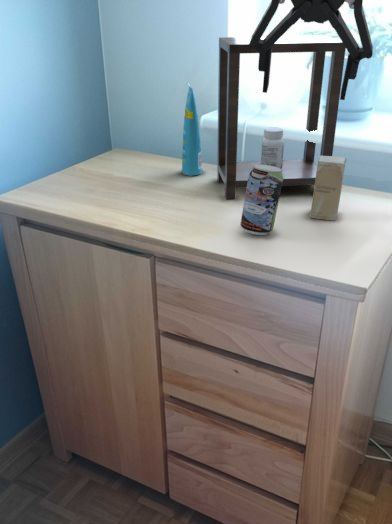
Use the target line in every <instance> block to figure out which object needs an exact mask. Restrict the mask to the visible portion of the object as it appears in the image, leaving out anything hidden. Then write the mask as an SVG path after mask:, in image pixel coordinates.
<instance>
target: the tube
mask: <svg viewBox="0 0 392 524" xmlns="http://www.w3.org/2000/svg"><path fill="white" fill-rule="evenodd" d="M187 85H188V90H187V94H186V101H185V109H184V117H183V132H182V153H181V154H182V155H181V156H182V158H181V173H182V175H185V176H191V177H192V176H198V175H201V174H202V173H203V159H202V158H203V157H202V156H203V155H202V143H201V131H200V122H199V115H198V108H197V102H196V97H195V93H194V89H193V88H192V87H191V85H190V83H187Z"/></svg>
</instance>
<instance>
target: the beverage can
mask: <svg viewBox="0 0 392 524" xmlns="http://www.w3.org/2000/svg"><path fill="white" fill-rule="evenodd" d="M281 171H282V170H281V169H280V168H278V167H275V166H271V165H264V164H256V165H254V167H253V169H252V170H251V171H250V173H249V177H248V183H247V187H246V190H245V195H244V201H243V207H242V213H241V219H240V227H241V228H243V231H245V232H246V233H249V234H252V235H257V236H265V235H268V234H269V233H271V232H273V230H274V226H275V222H276V217H277V213H278V212H277V211H278V207H279V202H280V196H281V193H282V187H283V186H282V182H283V175H282V173H281Z"/></svg>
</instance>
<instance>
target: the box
mask: <svg viewBox="0 0 392 524" xmlns="http://www.w3.org/2000/svg"><path fill="white" fill-rule="evenodd" d="M347 159H348V158H347V157H346V156H345V157H344V156H336V155H335V156H333V155H332V156H320V155H319V157H318V160H317V163H316V164H317V171H316V178H315V185H313V186H314V187H313V193H312V201H311V209H310V215H309V218H311V219H318V220H325V221H336V220H337V217H338V212H339V209H340V208H339V207H340V201H341V195H342V188H343V182H344V176H345V172H346V164H347V161H348V160H347Z"/></svg>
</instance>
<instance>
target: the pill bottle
mask: <svg viewBox="0 0 392 524" xmlns="http://www.w3.org/2000/svg"><path fill="white" fill-rule="evenodd" d="M283 137H284V129H283V128H282V127H273V126H271V127H265V128H264V129H263V138H262V140H261V151H260V152H261V153H260V161H261V164H264V165H271V166H275V167H278V168H280V169H281V170H282V166H283V160H284V149H285V139H284V138H283Z"/></svg>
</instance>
